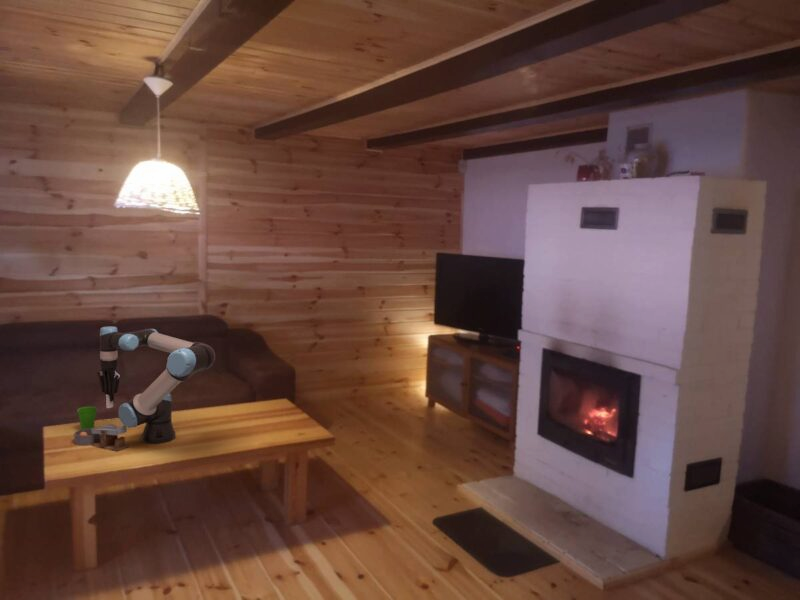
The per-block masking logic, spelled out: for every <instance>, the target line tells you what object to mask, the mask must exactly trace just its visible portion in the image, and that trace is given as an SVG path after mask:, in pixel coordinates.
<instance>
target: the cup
mask: <svg viewBox="0 0 800 600" xmlns="http://www.w3.org/2000/svg"><path fill="white" fill-rule="evenodd" d="M97 410H98V408H97V407H96V406H83V407H79V408H77V410H76V411H77V414H78V419H79V424H80V430H81V429H87V428H95V420H96V414H97Z"/></svg>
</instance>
